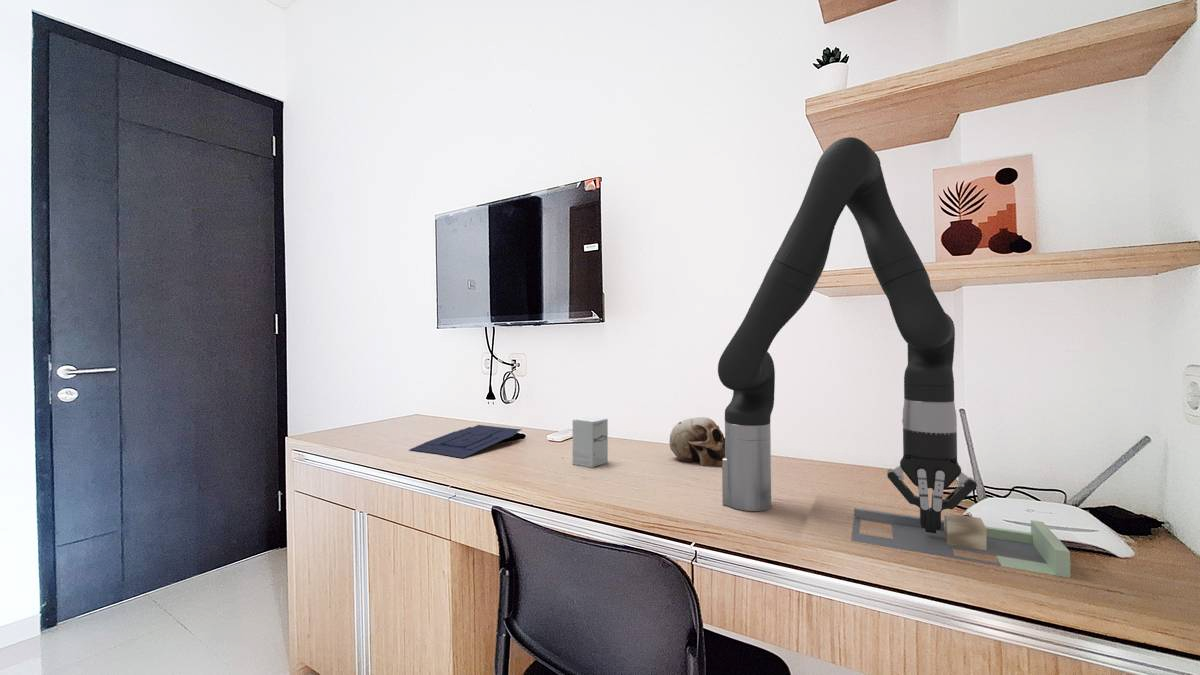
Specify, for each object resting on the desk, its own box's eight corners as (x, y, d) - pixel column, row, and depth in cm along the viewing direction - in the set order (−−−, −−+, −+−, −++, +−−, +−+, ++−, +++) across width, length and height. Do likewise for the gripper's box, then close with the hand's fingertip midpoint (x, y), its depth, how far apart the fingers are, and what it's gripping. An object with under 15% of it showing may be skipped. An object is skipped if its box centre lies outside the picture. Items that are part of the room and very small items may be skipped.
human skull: (745, 464, 138) (739, 416, 138) (688, 475, 134) (681, 425, 134) (719, 454, 153) (713, 410, 153) (666, 463, 149) (661, 419, 149)
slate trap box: (851, 549, 82) (851, 519, 82) (854, 524, 93) (854, 497, 93) (1070, 588, 69) (1070, 551, 69) (1043, 553, 80) (1042, 521, 80)
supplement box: (592, 468, 136) (592, 421, 136) (571, 464, 140) (571, 419, 140) (608, 462, 141) (608, 418, 142) (588, 459, 146) (587, 416, 146)
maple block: (947, 544, 80) (947, 522, 80) (944, 533, 84) (943, 513, 85) (986, 550, 78) (986, 528, 78) (980, 539, 82) (980, 518, 82)
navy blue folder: (527, 437, 173) (526, 427, 173) (464, 467, 147) (463, 455, 147) (475, 431, 185) (474, 422, 185) (408, 457, 160) (407, 446, 159)
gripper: (883, 427, 83) (885, 531, 83) (982, 434, 77) (984, 547, 77) (883, 421, 90) (884, 517, 90) (974, 426, 83) (976, 530, 83)
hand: (930, 531), depth 83 cm, fingers closed
